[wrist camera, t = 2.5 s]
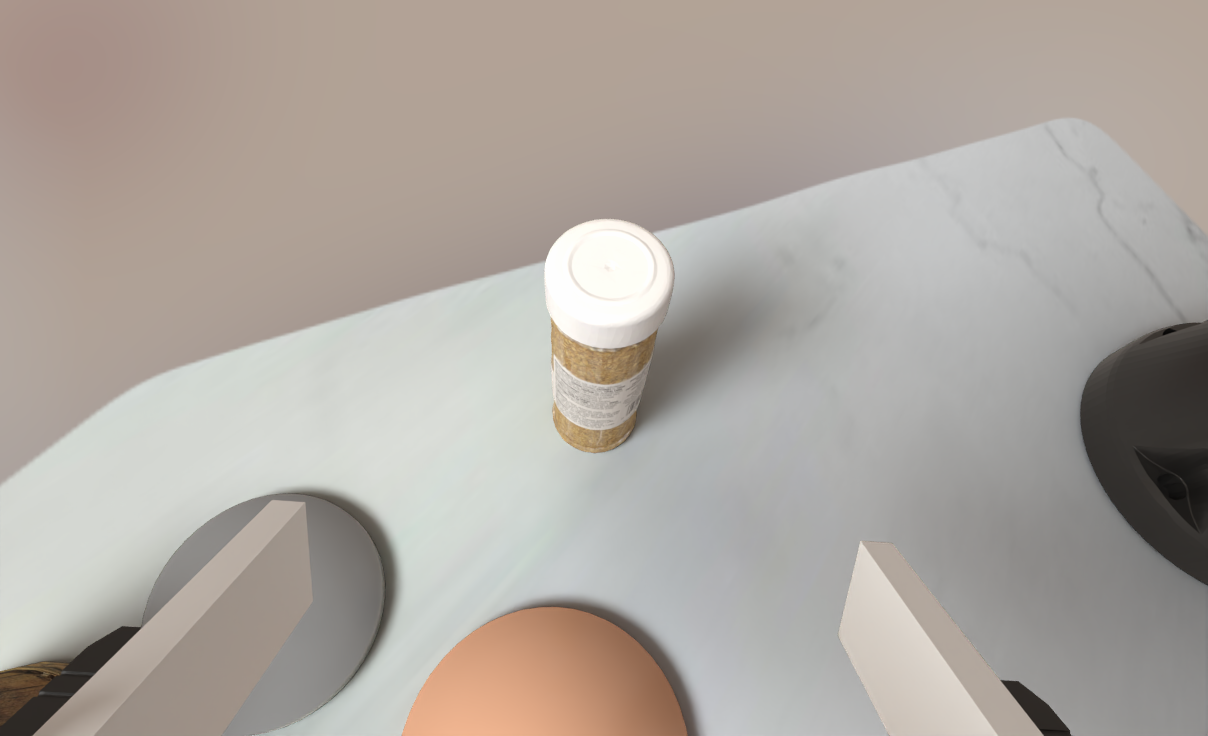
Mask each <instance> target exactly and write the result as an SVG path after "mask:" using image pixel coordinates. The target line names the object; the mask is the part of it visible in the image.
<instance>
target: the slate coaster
mask: <svg viewBox="0 0 1208 736" xmlns="http://www.w3.org/2000/svg"><path fill="white" fill-rule="evenodd" d="M271 500H280V501H295V502H305V505H306V518H307V531H308V544H309V557H310V570H311V583H312V596H313V602H312V603H311V604H310V606H309V607H308V609H307V610H306V612H305V613H304V615H303V616H302V618H301V619H300V621H299V622H298V624H297V625H296V627H295V628H294V630H293V631H292V632H291V634H290V635H289V637H288V638H287V640H286V641H285V643H284V644H283V646H282V647H281V649H280V650H279V652H278V653H277V655H276V656H275V657H274V659H273V660H272V662H271V663H270V665H269V666H268V668H267V669H266V671H265V672H264V674H263V675H262V677H261V678H260V680H259V681H258V683H257V684H256V685H255V687H254V688H253V690H252V691H251V693H250V694H249V696H248V697H247V699H246V700H245V702H244V703H243V705H242V706H241V708H240V709H239V710H238V712H237V713H236V715H235V716H234V718H233V719H232V721H231V722H230V724H229V725H228V727H227V728H226V730H225V731H224V733H223V734H222V735H221V736H249V735H255V734H261V733H267V732H271V731H274V730H277V729H280V728H284V727H286V726H288V725H291V724H293V723H295V722H297V721H300V720H302V719H303V718H305V717H307V716H308V715H310V714H312V713H313V712H315V711H317V710H318V709H319V708H320V707H322V706H323V705H324V704H326V703H327V702H328V701H330V700H331V699H332V698H333V697H334V696H335V695H336V694H337V693H338V692H339V691H340V690H341V689H342V688H343V687H344V686H345V685H346V684H347V683H348V681H349V680H350V679H351V678H352V677H353V676H354V674H355V673H356V671H357V670H358V669H359V667H360V666H361V664H362V663H363V661H364V660H365V658H366V656H367V654H368V652H369V650H370V648H371V646H372V645H373V642H374V639H375V637H376V634H377V632H378V629H379V626H380V622H381V618H382V614H383V608H384V601H385V578H384V570H383V566H382V562H381V558H380V555H379V553H378V550H377V548H376V545H375V543H374V542H373V540H372V538H371V537H370V535H369V534H368V532H367V531H366V530H365V529H364V527H363V526H362V525H361V524H360V523H359V522H358V521H357V520H356V519H354V518H353V517H352V516H351V515H350V514H348V513H347V512H346V511H344V510H343V509H341V508H340V507H338V506H336V505H335V504H333V503H330V502H328V501H326V500H323V499H321V498H317V497H313V496H310V495H302V494H275V495H267V496H263V497H259V498H255V499H251V500H249V501H246V502H243V503H240V504H238V505H236V506H234V507H232V508H229V509H227V510H225V511H224V512H222V513H220V514H219V515H217V516H215V517H214V518H212V519H211V520H209V521H208V522H207V523H205V524H204V525H203V526H201V527H200V528H199V529H197V530H196V531H195V532H194V533H193V534H192V535H191V536H190V537H189V538H188V539H187V540H186V541H185V542H184V543H183V544H182V545H181V546H180V547H179V548H178V550H177V551H176V552H175V553H174V554H173V556H172V557H171V558H170V560H169V561H168V563H167V564H166V565H165V567H164V568H163V570H162V572H161V574H160V575H159V577H158V579H157V581H156V582H155V585H154V587H153V589H152V591H151V594H150V596H149V598H148V602H147V605H146V608H145V612H144V615H143V621H142V626H141V628H142V627H143V626H144V625H145V624H146V623H148V622H149V621H150V620H151V619H152V618H153V617H154V616H155V615H156V614H157V613H158V612H159V611H160V610H161V609H162V608H163V607H164V606H165V605H166V604H167V603H168V602H169V601H170V600H171V599H172V598H173V597H174V596H175V595H176V594H177V593H178V592H179V591H180V590H181V589H182V588H183V587H184V586H185V585H186V584H187V583H188V582H189V581H190V580H191V579H192V578H193V577H194V576H195V575H196V574H197V573H198V572H199V571H200V570H201V569H202V568H203V567H204V566H205V565H206V564H207V563H208V562H209V561H211V560H212V559H213V558H214V557H215V556H216V555H217V554H218V553H219V552H220V551H221V550H222V549H223V548H224V547H225V546H226V545H227V544H228V543H229V542H230V541H231V540H232V539H233V538H234V537H235V536H236V535H237V534H238V533H239V532H240V531H241V530H242V529H243V528H244V527H245V526H246V525H247V524H248V523H249V522H250V521H251V520H252V519H253V518H254V517H255V516H256V515H257V514H258V513H259V512H260V511H261V510H262V509H263V508H264V507H265V506H266V505H267V504H268V503H269V502H270V501H271Z"/></svg>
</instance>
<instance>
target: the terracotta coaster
mask: <svg viewBox="0 0 1208 736" xmlns="http://www.w3.org/2000/svg"><path fill="white" fill-rule="evenodd" d="M402 736H688V735H687V730H686V726H685V722H684V719H683V716H682V712H681V709H680V706H679V704H678V701H677V699H676V697H675V694H674V692H673V690H672V687H671V686H670V684H669V682H668V680H667V679H666V677H665V675H664V673H663V672H662V670H661V669H660V667H659V666H658V665H657V663H656V662H655V661H654V659H653V658H652V657H651V655H650V654H649V653H648V652H647V651H646V650H645V649H644V648H643V647H642V646H641V645H640V644H639V643H638V642H637V641H636V640H635V639H634V638H632V637H631V636H630V635H629V634H627V633H626V632H625V631H624V630H622V629H620V628H619V627H617V626H616V625H614V624H612V623H611V622H609V621H607V620H605V619H602V618H600V617H598V616H596V615H593V614H590V613H587V612H583V611H580V610H576V609H570V608H562V607H538V608H531V609H524V610H520V611H517V612H513V613H510V614H507V615H504V616H502V617H499V618H497V619H495V620H493V621H490V622H488V623H487V624H485V625H483V626H482V627H480V628H478V629H477V630H475V631H473V632H472V633H471V634H469V635H468V636H467V637H466V638H464V639H463V640H462V641H461V642H459V643H458V644H457V645H456V646H455V647H454V648H453V649H452V650H451V651H450V652H449V653H448V654H447V655H446V656H445V657H444V658H443V659H442V660H441V662H440V663H439V664H438V666H437V667H436V668H435V669H434V671H433V672H432V673H431V674H430V676H429V678H428V679H427V681H426V682H425V684H424V686H423V687H422V689H421V690H420V692H419V694H418V696H417V698H416V700H415V702H414V704H413V706H412V709H411V711H410V713H409V716H408V719H407V721H406V724H405V727H404V730H403V733H402Z"/></svg>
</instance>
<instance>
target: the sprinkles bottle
mask: <svg viewBox="0 0 1208 736" xmlns="http://www.w3.org/2000/svg"><path fill="white" fill-rule="evenodd" d="M674 279H675V274H674V267H673V262H672V259H671V257H670V255H669V253H668V251H667V249H666V248H665V246H664V245H663V244H662V242H661V241H660V240H659V239H658V238H657V237H656V236H654V235H653V234H652V233H651V232H649V231H648V230H646V229H644V228H642V227H640V226H638V225H636V224H633V223H630V222H627V221H623V220H617V219H598V220H592V221H588V222H585V223H582V224H579V225H577V226H575V227H573V228H571V229H570V230H568V231H566V232H565V233H564V234H563V235H562V236H561V237H560V238H559V239H558V240H557V241H556V242H555V243H554V245H553V246H552V248H551V250H550V252H549V254H548V256H547V260H546V264H545V298H546V304H547V309H548V311H549V314H550V316H551V325H552V332H551V342H552V358H551V372H552V391H553V397H554V404H553V420H554V423H555V427H556V429H557V431H558V432H559V434H560V435H561V437H562V438H563V439H564V441H565V442H567V443H568V444H570V445H572V446H573V447H575V448H577V449H579V450H581V451H585V452H591V453H598V452H605V451H608V450H611V449H614V448H615V447H617V446H619V445H620V444H622V443H623V442H624V441H625V440H626V439H627V437H628V436H629V435H630V433H631V431H632V429H633V428H634V425H635V422H636V414H637V412H636V409H637V407H638V405H639V403H640V400H641V396H642V393H643V389H644V385H645V382H646V378H647V374H648V370H649V367H650V363H651V359H652V356H653V352H654V346H655V339H656V334H657V330H658V328H659V326H660V325H661V323H662V322H663V320H664V318H665V316H666V314H667V311H668V308H669V304H670V300H671V296H672V291H673V286H674Z"/></svg>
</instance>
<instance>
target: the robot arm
mask: <svg viewBox="0 0 1208 736" xmlns="http://www.w3.org/2000/svg"><path fill="white" fill-rule="evenodd" d="M1081 428H1082V434H1083V439H1084V443H1085V447H1086V450H1087V453H1088V456H1089V459H1090V462H1091V464H1092V466H1093V469H1094V471H1095V473H1096V475H1097V477H1098V479H1099V481H1100V483H1101V484H1102V486H1103V488H1104V490H1105V491H1106V493H1107V494H1108V496H1109V497H1110V499H1111V500H1112V502H1113V503H1114V505H1115V506H1116V507H1117V509H1118V510H1119V511H1120V513H1121V514H1122V515H1123V516H1124V518H1125V519H1126V520H1127V521H1128V522H1129V524H1130V525H1131V526H1132V527H1133V528H1134V529H1135V530H1136V531H1137V532H1138V533H1139V534H1140V535H1141V536H1142V537H1143V538H1144V539H1145V540H1146V541H1147V542H1148V543H1149V544H1150V545H1151V546H1152V547H1153V548H1154V549H1156V550H1157V551H1158V552H1159V553H1160V554H1162V555H1163V556H1164V557H1165V558H1166V559H1168V560H1169V561H1170V562H1172V563H1173V564H1174V565H1176V566H1177V567H1179V568H1180V569H1182V570H1183V571H1184V572H1186V573H1187V574H1189V575H1191V576H1192V577H1194V578H1196V579H1197V580H1199V581H1201V582H1203V583H1204V584H1206V585H1208V320H1207V321H1205V322H1202V323H1187V324H1180V325H1174V326H1170V327H1166V328H1162V329H1159V330H1156V331H1153V332H1151V333H1148V334H1146V335H1144V336H1142V337H1140V338H1138V339H1137V340H1135V341H1133V342H1132V343H1130V344H1128V345H1126V346H1125V347H1123V348H1121V349H1120V350H1118V351H1116V352H1115V353H1113V354H1111V355H1110V356H1108V357H1107V358H1106V359H1104V360H1103V361H1102V362H1101V363H1100V364H1099V365H1098V366H1097V367H1096V368H1095V370H1094V371H1093V373H1092V374H1091V376H1090V377H1089V379H1088V381H1087V383H1086V386H1085V389H1084V392H1083V396H1082V402H1081ZM312 602H313V596H312V583H311V570H310V557H309V544H308V531H307V518H306V505H305V502H295V501H280V500H271V501H270V502H269V503H268V504H267V505H266V506H265V507H264V508H263V509H262V510H261V511H260V512H259V513H258V514H257V515H256V516H255V517H254V518H253V519H252V520H251V521H250V522H249V523H248V524H247V525H246V526H245V527H244V528H243V529H242V530H241V531H240V532H239V533H238V534H237V535H236V536H235V537H234V538H233V539H232V540H231V541H230V542H229V543H228V544H227V545H226V546H225V547H224V548H223V549H222V550H221V551H220V552H219V553H218V554H217V555H216V556H215V557H214V558H213V559H212V560H211V561H209V562H208V563H207V564H206V565H205V566H204V567H203V568H202V569H201V570H200V571H199V572H198V573H197V574H196V575H195V576H194V577H193V578H192V579H191V580H190V581H189V582H188V583H187V584H186V585H185V586H184V587H183V588H182V589H181V590H180V591H179V592H178V593H177V594H176V595H175V596H174V597H173V598H172V599H171V600H170V601H169V602H168V603H167V604H166V605H165V606H164V607H163V608H162V609H161V610H160V611H159V612H158V613H157V614H156V615H155V616H154V617H153V618H152V619H151V620H150V621H149V622H148V623H146V624H145V625H144V626H143V627H142V628H141V627H125V626H122V627H120V628H119V629H117V630H115V631H114V632H112V633H110V634H108V635H107V636H105V637H103V638H102V639H100V640H98V641H97V642H95V643H93V644H91V645H90V646H88V647H87V648H86V649H85V650H84V651H83V652H82V653H80V654H79V655H78V656H77V657H76V658H75V659H74V660H73V661H72V662H71V663H70V664H69V665H67V666H66V667H65V668H64V669H63V670H62V672H61V675H60V676H55V677H54V678H53V679H52V680H51V681H50V682H49V683H48V684H47V685H46V686H45V687H43V688H42V689H41V690H40V691H39V695H38V696H37V697H33V698H31V699H30V700H29V701H28V702H27V703H26V704H25V705H24V706H23V707H22V708H21V709H19V710H18V711H17V712H16V713H15V714H14V715H13V716H12V717H11V718H10V719H9V720H7V721H6V722H5V723H4V724H3V725H2V726H1V727H0V736H221V735H222V734H223V733H224V731H225V730H226V728H227V727H228V725H229V724H230V722H231V721H232V719H233V718H234V716H235V715H236V713H237V712H238V710H239V709H240V708H241V706H242V705H243V703H244V702H245V700H246V699H247V697H248V696H249V694H250V693H251V691H252V690H253V688H254V687H255V685H256V684H257V683H258V681H259V680H260V678H261V677H262V675H263V674H264V672H265V671H266V669H267V668H268V666H269V665H270V663H271V662H272V660H273V659H274V657H275V656H276V655H277V653H278V652H279V650H280V649H281V647H282V646H283V644H284V643H285V641H286V640H287V638H288V637H289V635H290V634H291V632H292V631H293V630H294V628H295V627H296V625H297V624H298V622H299V621H300V619H301V618H302V616H303V615H304V613H305V612H306V610H307V609H308V607H309V606H310V604H311V603H312ZM838 637H839V638H840V640H841V642H842V644H843V646H844V648H845V650H846V652H847V654H848V656H849V658H850V660H851V662H852V664H853V666H854V668H855V670H856V672H857V674H858V676H859V678H860V680H861V681H862V683H863V685H864V687H865V689H866V691H867V693H868V695H869V697H870V699H871V701H872V703H873V705H874V707H875V709H876V711H877V713H878V715H879V717H880V719H881V721H882V723H883V725H884V726H885V728H886V730H887V732H888V734H889V736H1071V734H1070V730H1069V729H1068V728H1067V727H1066V725H1065V724H1064V723H1063V722H1062V721H1061V719H1060V718H1059V717H1058V716H1057V715H1056V714H1055V712H1054V711H1053V710H1052V709H1051V708H1050V706H1049V705H1048V704H1047V703H1045V702H1044V701H1043V700H1041V699H1040V698H1039V697H1038V696H1036V695H1035V694H1034V693H1033V692H1031V691H1030V690H1029V689H1027V688H1026V687H1025V686H1024V685H1022V684H1021V683H1020V682H1019V681H1004V680H1000V679H999V678H998V677H997V676H996V674H995V673H994V672H993V671H992V669H991V668H990V667H989V665H988V664H987V663H986V662H985V660H984V659H983V658H982V657H981V655H980V654H979V653H978V651H977V650H976V649H975V648H974V646H973V645H972V644H971V643H970V641H969V640H968V639H967V638H966V636H965V635H964V634H963V632H962V631H961V630H960V629H959V627H958V626H957V625H956V624H955V622H954V621H953V620H952V618H951V617H950V616H949V615H948V613H947V612H946V611H945V610H944V608H943V607H942V606H941V604H940V603H939V602H938V601H937V599H936V598H935V597H934V596H933V594H932V593H931V592H930V591H929V589H928V588H927V587H926V585H925V584H924V583H923V582H922V580H921V579H920V578H919V577H918V575H917V574H916V573H915V571H914V570H913V569H912V568H911V566H910V565H909V564H908V563H907V561H906V560H905V559H904V557H903V556H902V555H901V554H900V552H899V551H898V550H897V549H896V547H895V546H894V545H893V543H886V542H871V541H860V545H859V549H858V553H857V557H856V562H855V566H854V570H853V574H852V578H851V582H850V586H849V591H848V595H847V599H846V603H845V607H844V611H843V616H842V620H841V624H840V628H839V632H838Z"/></svg>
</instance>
